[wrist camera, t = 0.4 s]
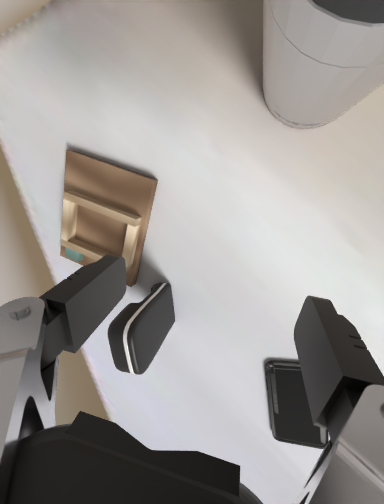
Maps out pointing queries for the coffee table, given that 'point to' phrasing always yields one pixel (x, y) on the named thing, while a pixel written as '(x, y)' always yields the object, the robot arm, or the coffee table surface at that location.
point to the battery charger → (141, 330)
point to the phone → (291, 406)
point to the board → (104, 212)
